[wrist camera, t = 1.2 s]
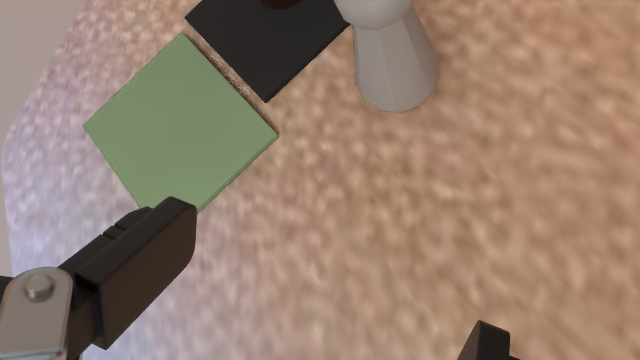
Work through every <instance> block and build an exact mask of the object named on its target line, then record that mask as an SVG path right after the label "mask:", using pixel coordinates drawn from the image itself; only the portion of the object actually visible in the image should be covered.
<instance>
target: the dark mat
mask: <svg viewBox="0 0 640 360" xmlns="http://www.w3.org/2000/svg"><path fill="white" fill-rule="evenodd" d="M184 18H185V19H186V20H187V21H188V22H189V23H190V24H191V26H192V27H193V28H194V29H195V30H196V31H197V32H198V33H199V34H200V35H201V36H202V37H203V38H204V39H205V40H206V41H207V42H208V43H209V44H210V45H211V46H212V48H213V49H214V50H215V51H216V52H217V53H218V54H219V55H220V56H221V57H222V58H223V59H224V60H225V61H226V62H227V63H228V64H229V65H230V66H231V67H232V68H233V70H234V71H235V72H236V73H237V74H238V75H239V76H240V77H241V78H242V79H243V80H244V81H245V82H246V83H247V84H248V85H249V86H250V87H251V88H252V89H253V90H254V92H255V93H256V94H257V95H258V96H259V97H260V98H261V99H262V100H263V101H264V102H265V103H267V102H268V101H269V100H270V99H271V98H272V97H273V96H274V95H275V94H277V93H278V92H279V91H280V90H281V89H282V88H283V87H284V86H285V85H286V84H287V83H288V82H289V81H290V80H291V79H292V78H293V77H295V76H296V75H297V74H298V73H299V72H300V71H301V70H302V69H303V68H304V67H305V66H306V65H307V64H308V63H309V62H310V61H312V60H313V59H314V58H315V57H316V56H317V55H318V54H319V53H320V52H321V51H322V50H323V49H324V48H325V47H326V46H327V45H328V44H330V43H331V42H332V41H333V40H334V39H335V38H336V37H337V36H338V35H339V34H340V33H341V32H342V31H343V30H344V29H345V28H346V27H348V26H349V25H350V23H348V22H347V21H345V20H344V19H343V17H342V15H341V13H340V11H339V9H338V8H337V6H336V4H335V2H334V0H301V1H300V2H299V3H297V4H296V5H294V6H292V7H290V8H287V9H283V10H273V9H269V8H267V7H265V6H264V5H262V4H261V3H260V1H259V0H202V1H201V2H200V3H199V4H198V5H197V6H196V7H195V8H194V9H193V10H192V11H190V12H189V13H188V14H187V15H186V16H185V17H184Z"/></svg>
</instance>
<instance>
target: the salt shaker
mask: <svg viewBox="0 0 640 360" xmlns="http://www.w3.org/2000/svg"><path fill="white" fill-rule="evenodd" d="M334 2H335V4H336V6H337V8H338V9H339V11H340V13H341V15H342V17H343V19H344V20H345V21H347V22H348V23H350V24H352V31H353V44H354V58H355V84H356V86H357V88H358V90H359V92H360V94H361V96H362V98H363V99H364V100H365V101H366V102H367V103H369V104H370V105H372V106H374V107H375V108H377V109H378V110H380V111H388V112H396V113H400V114H402V113H404V112H405V111H407V110H409V109H412V108H415V107H417V106H418V105H419V104H421V103H422V102H424V101H425V100H426V99H427V98H428V97H429V96H430V95H431V93H432V91H433V88H434V86H435V84H436V82H437V80H438V58H437V55H436V53H435V51H434V49H433V47H432V45H431V43H430V41H429V39H428V37H427V35H426V33H425V31H424V28H423V26H422V24H421V22H420V20H419V18H418V16H417V14H416V12H415V10H414V8H413V6H412V2H413V0H334Z"/></svg>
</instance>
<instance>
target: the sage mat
mask: <svg viewBox="0 0 640 360" xmlns="http://www.w3.org/2000/svg"><path fill="white" fill-rule="evenodd" d="M83 127H84V129H85V130H86V132H87V133H88V134H89V136H90V137H91V139H92V140H93V142H94V143H95V144H96V146H97V147H98V149H99V150H100V152H101V153H102V155H103V156H104V157H105V159H106V160H107V162H108V163H109V165H110V166H111V167H112V169H113V170H114V172H115V173H116V175H117V176H118V177H119V179H120V180H121V182H122V183H123V185H124V186H125V188H126V189H127V190H128V192H129V193H130V195H131V196H132V198H133V199H134V200H135V202H136V203H137V205H138V206H139V208H140V209H141V208H143V207H146V206H148V207H151V208H154V207H156V206H157V205H158V204H159V203H161V202H162V201H163V200H164V199H166V198H167V197H169V196H173V197H175V198H178V199H180V200H183V201H185V202H188V203H190V204H193V205H195V206H196V208H197V213H198V212H199V211H200V210H201V209H203V208H204V207H205V206H206V205H207V204H208V203H209V202H210V201H211V200H212V199H213V198H214V197H215V196H216V195H217V194H218V193H220V192H221V191H222V190H223V189H224V188H225V187H226V186H227V185H228V184H229V183H230V182H231V181H232V180H233V179H234V178H235V177H237V176H238V175H239V174H240V173H241V172H242V171H243V170H244V169H245V168H246V167H247V166H248V165H249V164H250V163H251V162H252V161H253V160H255V159H256V158H257V157H258V156H259V155H260V154H261V153H262V152H263V151H264V150H265V149H266V148H267V147H268V146H269V145H270V144H272V143H273V142H274V141H275V140H276V139H277V138H278V137H279V135H278V134H277V133H276V132H275V131H274V130H273V129H272V128H271V127H270V126H269V125H268V124H267V123H266V121H265V120H264V119H263V118H262V117H261V116H260V115H259V114H258V113H257V112H256V111H255V110H254V109H253V108H252V106H251V105H250V104H249V103H248V102H247V101H246V100H245V99H244V98H243V97H242V96H241V95H240V94H239V93H238V91H237V90H236V89H235V88H234V87H233V86H232V85H231V84H230V83H229V82H228V81H227V80H226V79H225V78H224V76H223V75H222V74H221V73H220V72H219V71H218V70H217V69H216V68H215V67H214V66H213V65H212V64H211V62H210V61H209V60H208V59H207V58H206V57H205V56H204V55H203V54H202V53H201V52H200V51H199V50H198V49H197V47H196V46H195V45H194V44H193V43H192V42H191V41H190V40H189V39H188V38H187V37H186V36H185V35H184V34H183V33H182V32H181V33H180V34H179V35H178V36H177V37H176V38H175V39H174V40H172V41H171V42H170V43H169V44H168V45H167V46H166V47H165V48H164V49H163V50H162V51H161V52H160V53H159V54H158V55H157V56H156V57H155V58H153V59H152V60H151V61H150V62H149V63H148V64H147V65H146V66H145V67H144V68H143V69H142V70H141V71H140V72H139V73H138V74H137V75H136V76H135V77H133V78H132V79H131V80H130V81H129V82H128V83H127V84H126V85H125V86H124V87H123V88H122V89H121V90H120V91H119V92H118V93H117V94H116V95H114V96H113V97H112V98H111V99H110V100H109V101H108V102H107V103H106V104H105V105H104V106H103V107H102V108H101V109H100V110H99V111H98V112H97V113H95V114H94V115H93V116H92V117H91V118H90V119H89V120H88V121H87V122H86V123H85V124H84V125H83Z"/></svg>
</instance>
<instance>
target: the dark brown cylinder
mask: <svg viewBox="0 0 640 360" xmlns="http://www.w3.org/2000/svg"><path fill="white" fill-rule="evenodd" d="M259 1H260V3H261V4H262V5H264V6H265V7H267V8H269V9H273V10H283V9H287V8H290V7H292V6H294V5H296V4H297V3H299V2H300V1H301V0H259Z"/></svg>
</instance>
